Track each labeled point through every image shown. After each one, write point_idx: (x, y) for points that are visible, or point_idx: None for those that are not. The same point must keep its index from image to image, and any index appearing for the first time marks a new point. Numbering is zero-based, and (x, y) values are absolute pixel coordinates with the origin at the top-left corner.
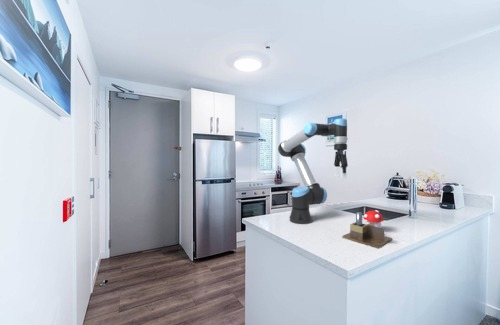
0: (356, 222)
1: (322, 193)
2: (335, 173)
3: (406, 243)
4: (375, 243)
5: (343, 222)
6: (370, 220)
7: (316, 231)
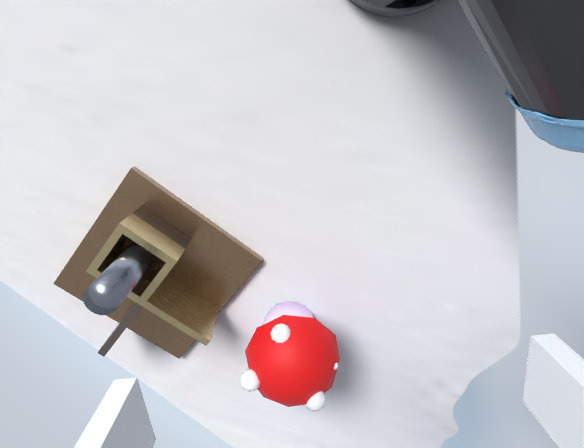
0: (119, 257)
1: (558, 96)
2: (579, 383)
3: (156, 384)
4: (84, 284)
5: (397, 215)
6: (254, 337)
7: (190, 36)
